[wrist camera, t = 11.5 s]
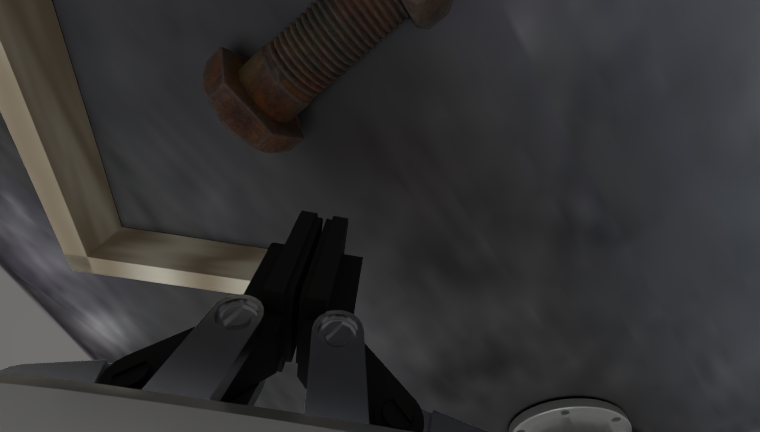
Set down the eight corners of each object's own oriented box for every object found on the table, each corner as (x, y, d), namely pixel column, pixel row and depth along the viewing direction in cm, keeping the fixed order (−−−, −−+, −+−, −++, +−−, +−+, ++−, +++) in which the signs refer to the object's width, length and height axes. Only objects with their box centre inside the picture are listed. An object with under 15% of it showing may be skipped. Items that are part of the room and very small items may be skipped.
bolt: (488, -80, 17) (275, 105, 22) (449, -211, 13) (200, 50, 18) (552, -28, 14) (288, 173, 19) (527, -179, 10) (202, 124, 15)
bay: (401, -138, 15) (402, -168, 12) (343, 274, 28) (337, 308, 25) (-58, -235, 14) (-181, -295, 11) (106, 239, 27) (71, 270, 24)
